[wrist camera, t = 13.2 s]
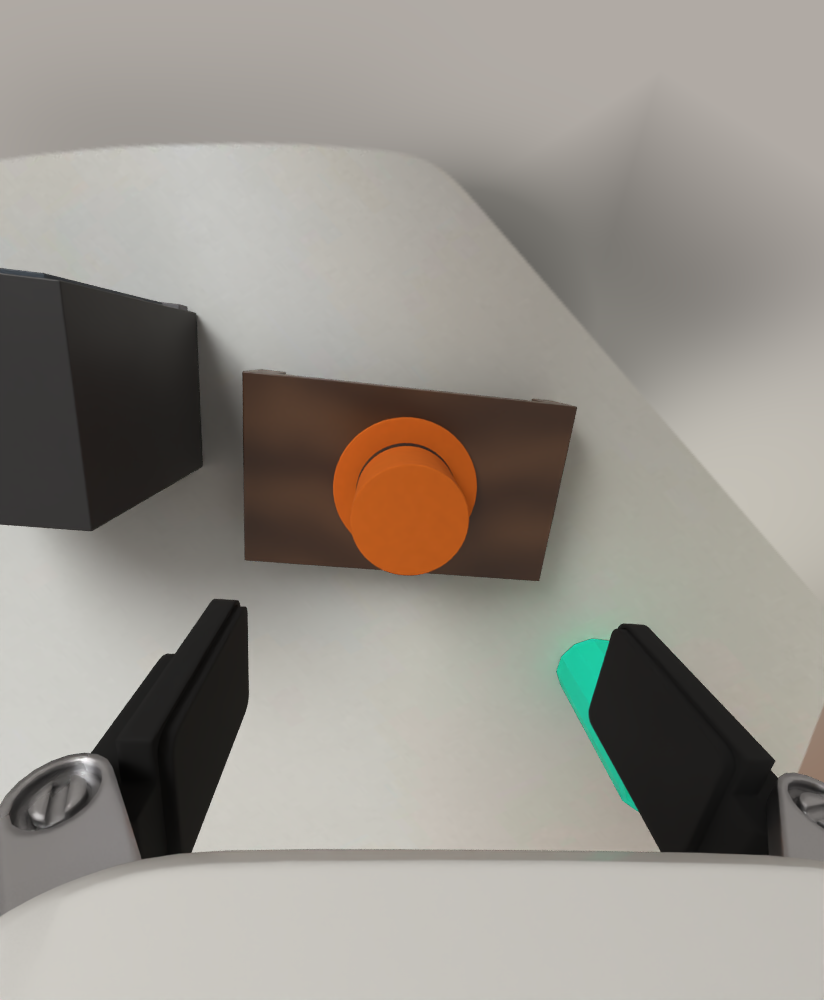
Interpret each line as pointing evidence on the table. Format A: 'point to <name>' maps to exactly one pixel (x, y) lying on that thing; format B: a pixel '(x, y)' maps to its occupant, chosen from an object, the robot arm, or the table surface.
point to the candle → (588, 696)
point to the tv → (91, 400)
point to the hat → (406, 494)
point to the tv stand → (356, 406)
